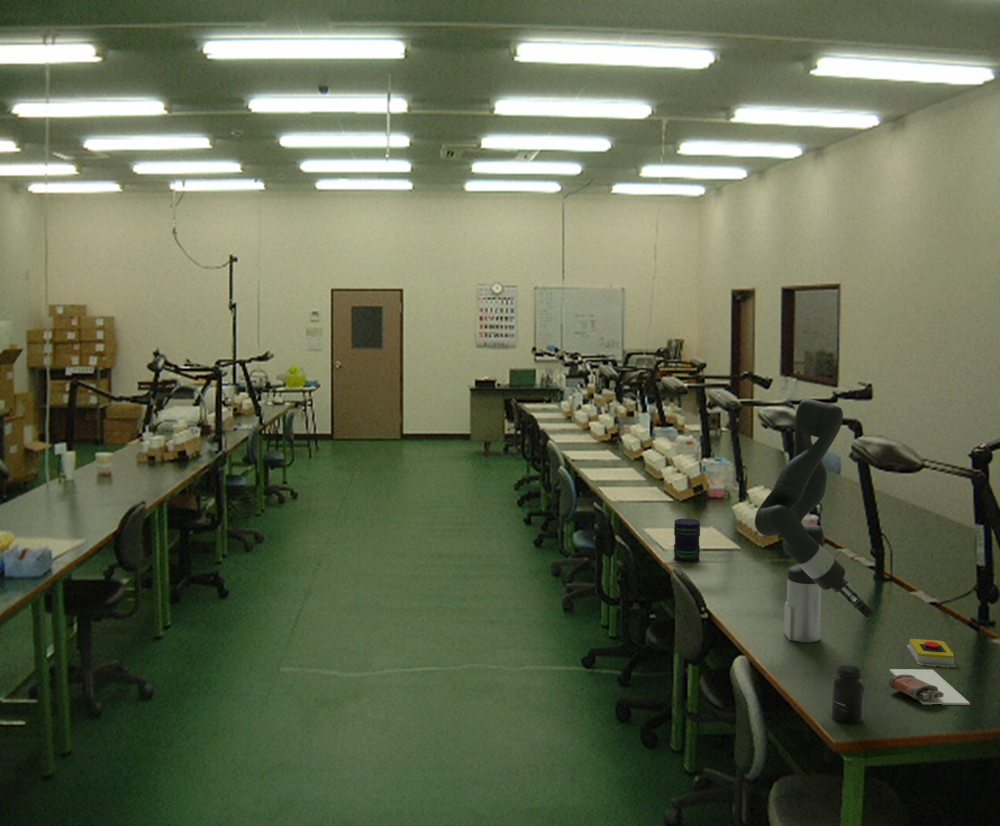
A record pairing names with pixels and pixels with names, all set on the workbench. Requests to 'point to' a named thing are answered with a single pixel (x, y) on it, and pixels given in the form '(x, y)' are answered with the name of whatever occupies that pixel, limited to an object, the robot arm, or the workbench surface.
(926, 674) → the mat
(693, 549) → the storage jar
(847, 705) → the supplement bottle
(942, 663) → the emergency button
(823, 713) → the workbench surface
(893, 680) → the lighter
